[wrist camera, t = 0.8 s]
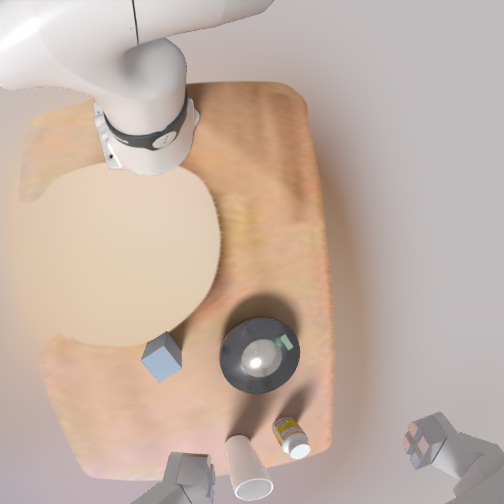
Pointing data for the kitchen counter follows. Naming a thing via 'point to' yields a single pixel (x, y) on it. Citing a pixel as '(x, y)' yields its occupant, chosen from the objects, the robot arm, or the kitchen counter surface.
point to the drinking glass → (247, 469)
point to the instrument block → (162, 357)
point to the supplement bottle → (291, 437)
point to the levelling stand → (259, 355)
